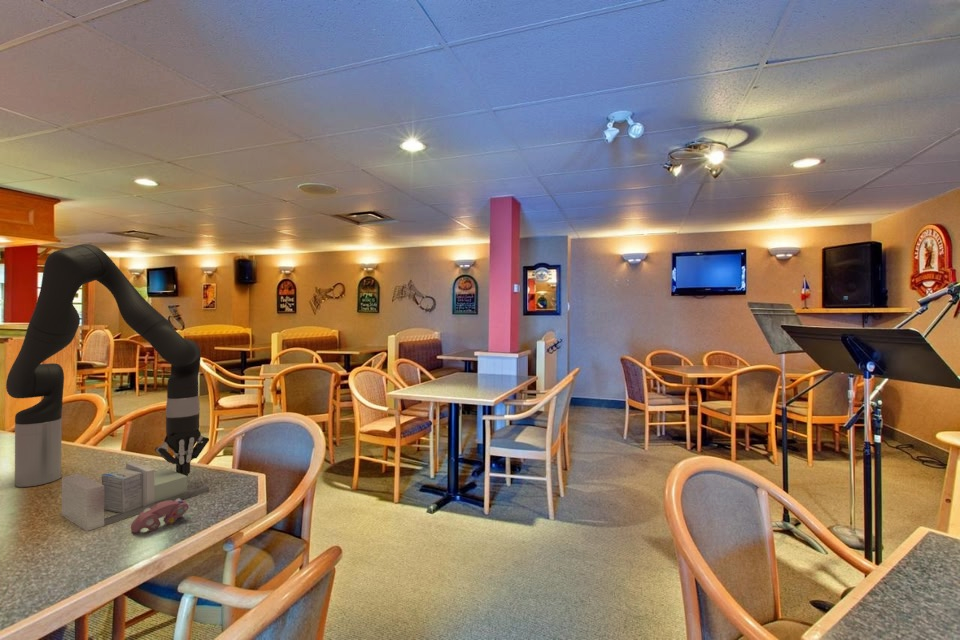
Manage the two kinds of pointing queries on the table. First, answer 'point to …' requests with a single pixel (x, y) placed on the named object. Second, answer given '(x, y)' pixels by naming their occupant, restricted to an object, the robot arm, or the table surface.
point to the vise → (98, 502)
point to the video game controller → (159, 515)
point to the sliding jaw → (159, 483)
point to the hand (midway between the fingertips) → (183, 476)
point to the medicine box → (122, 490)
